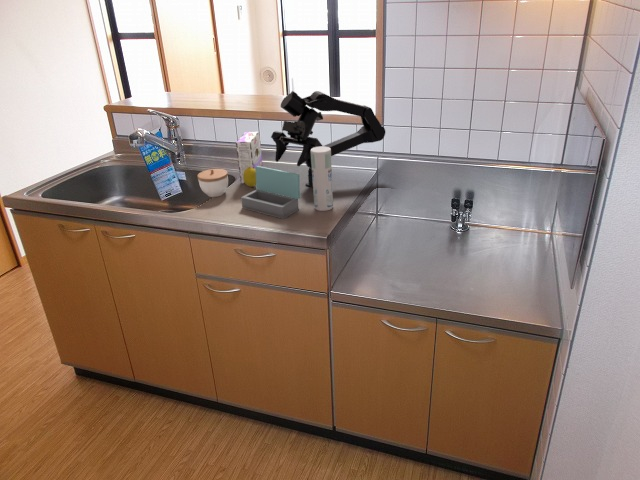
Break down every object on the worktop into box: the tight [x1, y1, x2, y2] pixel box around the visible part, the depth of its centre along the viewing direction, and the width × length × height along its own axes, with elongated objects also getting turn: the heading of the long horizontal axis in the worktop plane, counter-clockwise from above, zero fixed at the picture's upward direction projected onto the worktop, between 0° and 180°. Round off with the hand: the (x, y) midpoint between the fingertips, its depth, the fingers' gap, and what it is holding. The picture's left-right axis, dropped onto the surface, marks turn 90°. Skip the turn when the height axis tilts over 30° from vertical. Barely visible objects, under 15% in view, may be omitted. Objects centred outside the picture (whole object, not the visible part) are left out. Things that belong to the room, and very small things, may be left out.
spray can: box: [311, 145, 334, 212], centre depth 167 cm, size 6×6×20 cm
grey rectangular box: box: [240, 189, 299, 220], centre depth 172 cm, size 8×18×4 cm, turn 55°
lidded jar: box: [197, 168, 229, 198], centre depth 186 cm, size 11×11×9 cm
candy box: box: [235, 131, 264, 184], centre depth 198 cm, size 14×6×16 cm, turn 172°
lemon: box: [243, 167, 256, 189], centre depth 190 cm, size 6×6×8 cm
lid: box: [255, 166, 301, 200], centre depth 173 cm, size 8×18×1 cm
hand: (286, 163), depth 175 cm, fingers open, 9 cm apart
